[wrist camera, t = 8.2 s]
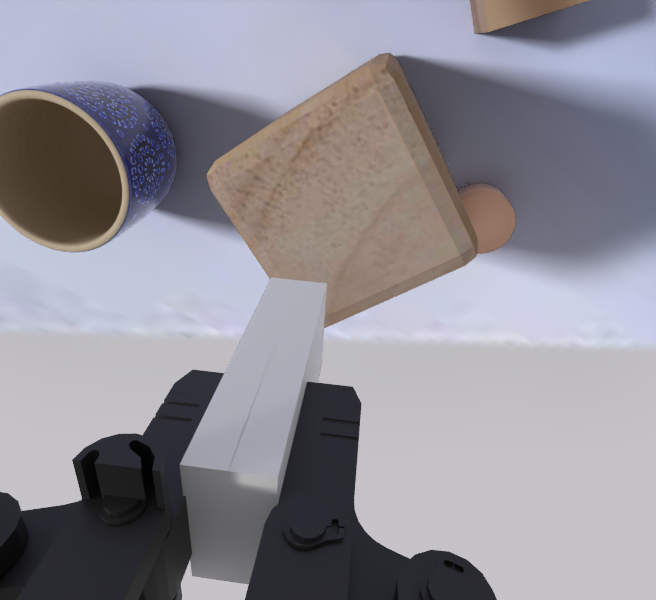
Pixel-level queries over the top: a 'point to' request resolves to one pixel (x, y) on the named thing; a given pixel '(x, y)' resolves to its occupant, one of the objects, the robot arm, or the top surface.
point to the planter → (81, 162)
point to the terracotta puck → (488, 215)
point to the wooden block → (348, 193)
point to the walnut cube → (512, 11)
